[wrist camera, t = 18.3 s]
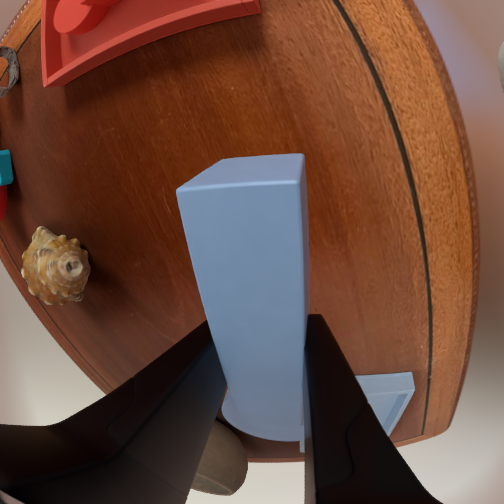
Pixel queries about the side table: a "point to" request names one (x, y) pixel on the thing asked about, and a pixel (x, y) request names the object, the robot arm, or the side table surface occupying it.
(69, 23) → the red spoon
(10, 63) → the wristwatch
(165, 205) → the side table surface
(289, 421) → the blue spoon
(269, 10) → the side table surface
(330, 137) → the side table surface
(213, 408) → the robot arm
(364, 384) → the blue tray
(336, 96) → the side table surface
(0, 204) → the toy figure
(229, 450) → the bowl
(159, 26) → the red tray
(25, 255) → the seashell
